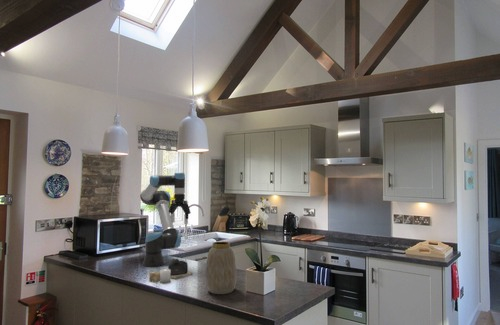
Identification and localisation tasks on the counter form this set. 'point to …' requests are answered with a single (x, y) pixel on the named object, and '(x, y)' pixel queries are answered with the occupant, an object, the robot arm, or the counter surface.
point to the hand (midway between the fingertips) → (179, 223)
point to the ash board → (180, 275)
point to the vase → (221, 269)
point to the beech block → (154, 276)
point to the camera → (178, 267)
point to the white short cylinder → (165, 275)
